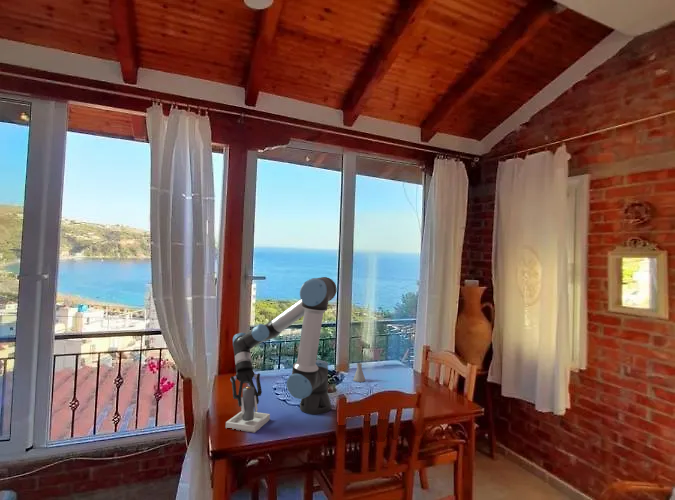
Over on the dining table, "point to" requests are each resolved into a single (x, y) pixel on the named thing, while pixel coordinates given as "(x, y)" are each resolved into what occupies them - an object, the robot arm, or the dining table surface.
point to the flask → (359, 374)
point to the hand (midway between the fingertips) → (249, 411)
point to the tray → (248, 422)
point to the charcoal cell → (248, 403)
